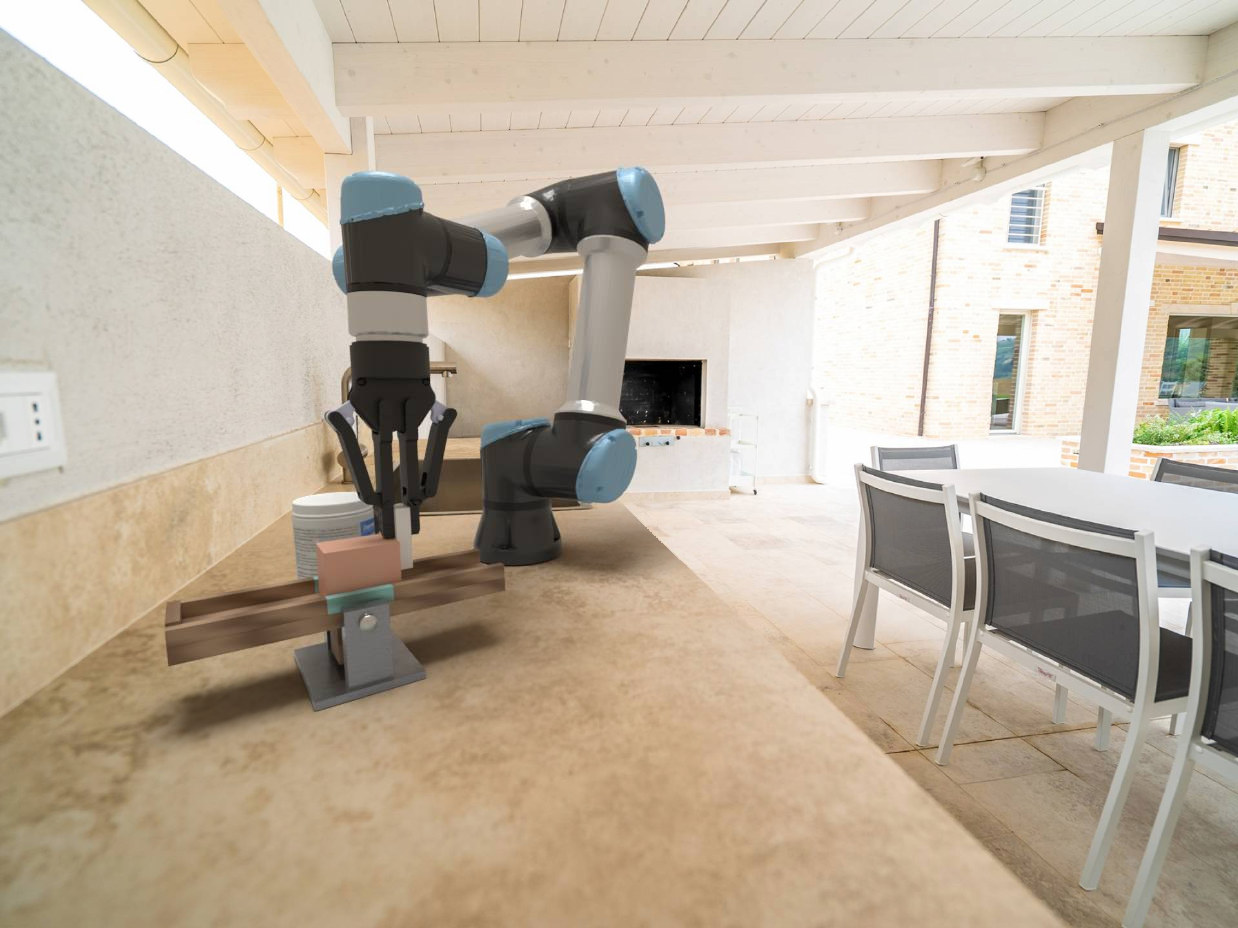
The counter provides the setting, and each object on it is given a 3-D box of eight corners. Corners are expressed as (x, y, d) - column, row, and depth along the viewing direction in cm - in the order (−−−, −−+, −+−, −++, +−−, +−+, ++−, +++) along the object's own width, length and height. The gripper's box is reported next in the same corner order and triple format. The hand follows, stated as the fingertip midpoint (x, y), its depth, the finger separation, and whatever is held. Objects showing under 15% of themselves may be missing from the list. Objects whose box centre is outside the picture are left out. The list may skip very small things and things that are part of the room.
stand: (389, 632, 68) (385, 564, 67) (426, 678, 58) (422, 598, 57) (294, 656, 63) (287, 581, 61) (315, 711, 52) (308, 623, 51)
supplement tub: (386, 610, 75) (379, 499, 73) (303, 627, 70) (294, 508, 68) (371, 588, 83) (365, 488, 81) (296, 602, 78) (287, 495, 76)
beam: (478, 607, 72) (476, 546, 71) (506, 629, 66) (504, 562, 65) (175, 679, 54) (167, 598, 53) (174, 718, 48) (164, 628, 47)
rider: (390, 581, 63) (387, 532, 63) (402, 593, 60) (399, 541, 59) (319, 594, 59) (315, 543, 59) (327, 608, 56) (323, 553, 55)
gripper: (440, 344, 65) (449, 547, 69) (311, 340, 58) (328, 568, 61) (465, 341, 59) (473, 563, 63) (325, 335, 52) (343, 588, 55)
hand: (402, 565), depth 62 cm, fingers closed
